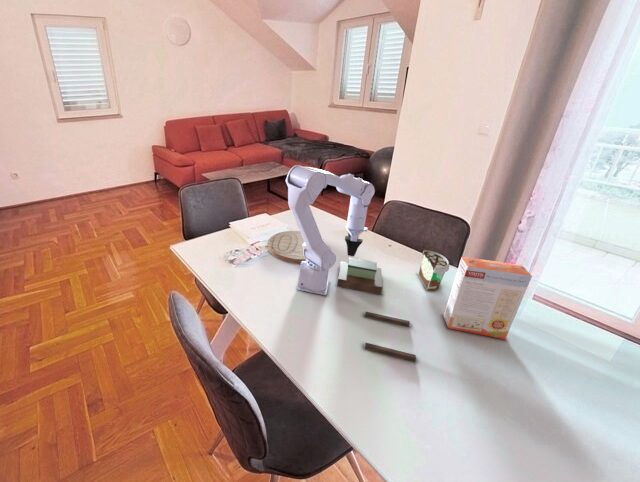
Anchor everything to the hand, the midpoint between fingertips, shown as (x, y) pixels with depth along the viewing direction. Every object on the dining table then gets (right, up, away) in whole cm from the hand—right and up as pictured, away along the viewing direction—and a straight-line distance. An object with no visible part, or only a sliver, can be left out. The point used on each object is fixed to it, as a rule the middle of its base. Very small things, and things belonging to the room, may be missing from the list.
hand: (351, 250), depth 111 cm
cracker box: (+27, -20, -21) cm, 40 cm away
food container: (+28, -12, -1) cm, 30 cm away
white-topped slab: (+3, -11, 0) cm, 11 cm away
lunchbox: (+3, -8, -1) cm, 9 cm away
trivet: (-15, -1, +22) cm, 27 cm away
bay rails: (+1, -21, -24) cm, 32 cm away
